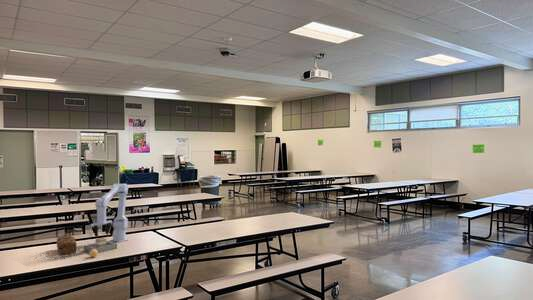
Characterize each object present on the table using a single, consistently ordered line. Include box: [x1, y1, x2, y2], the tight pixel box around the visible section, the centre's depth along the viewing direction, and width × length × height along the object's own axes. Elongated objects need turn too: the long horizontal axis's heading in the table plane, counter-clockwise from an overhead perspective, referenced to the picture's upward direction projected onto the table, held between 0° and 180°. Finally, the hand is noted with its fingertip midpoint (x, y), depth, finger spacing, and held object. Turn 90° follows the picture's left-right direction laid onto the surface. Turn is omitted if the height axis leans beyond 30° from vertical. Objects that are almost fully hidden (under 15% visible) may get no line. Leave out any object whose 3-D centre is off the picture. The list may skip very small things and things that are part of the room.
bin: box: [83, 240, 118, 254], centre depth 244 cm, size 14×16×4 cm
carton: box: [95, 237, 107, 248], centre depth 244 cm, size 5×5×7 cm
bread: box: [56, 234, 77, 256], centre depth 240 cm, size 19×11×10 cm, turn 36°
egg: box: [88, 249, 99, 258], centre depth 227 cm, size 5×5×5 cm
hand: (101, 235), depth 245 cm, fingers open, 7 cm apart
